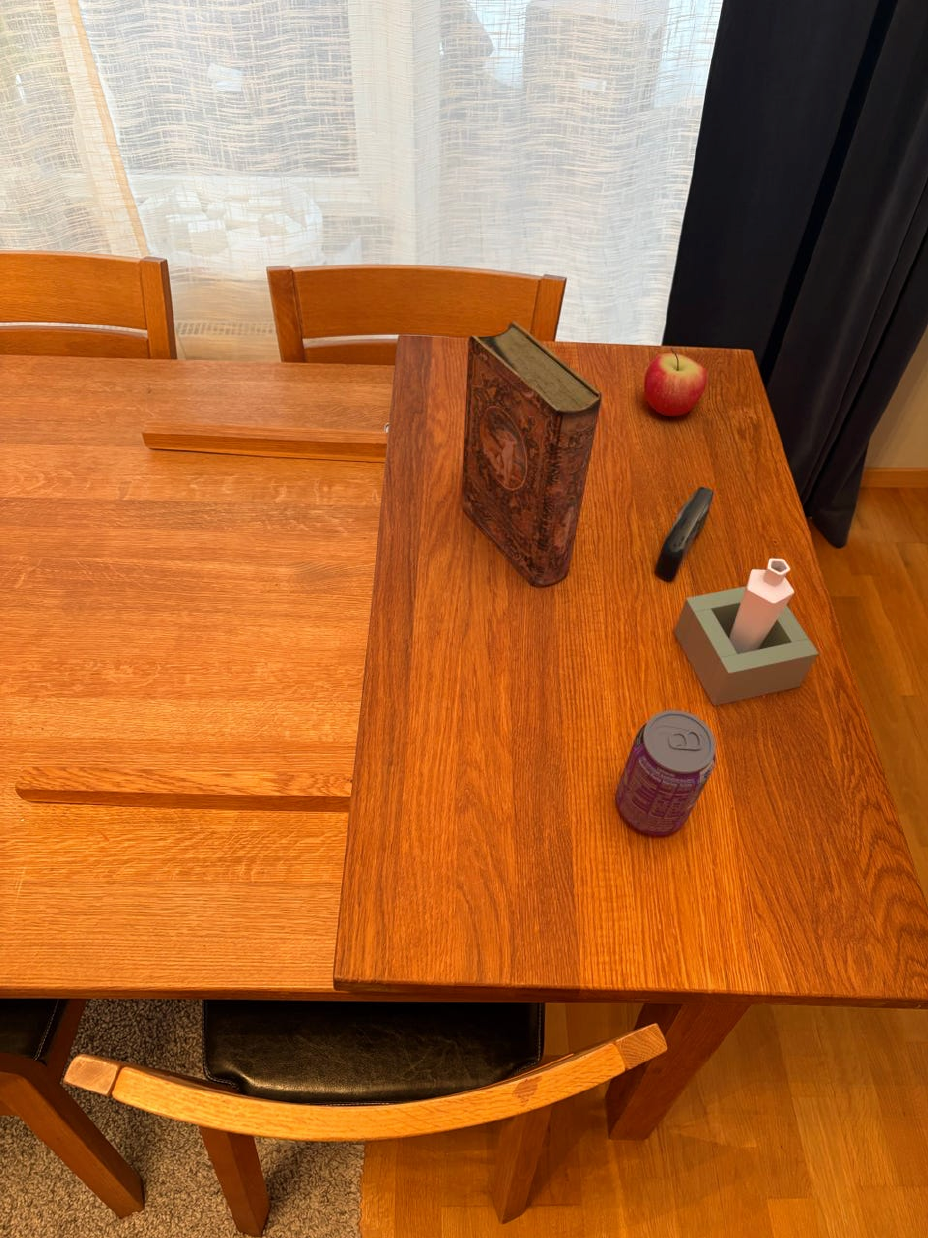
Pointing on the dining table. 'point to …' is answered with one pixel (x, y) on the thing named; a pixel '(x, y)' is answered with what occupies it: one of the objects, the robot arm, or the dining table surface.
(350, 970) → the dining table surface
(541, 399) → the book
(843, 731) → the dining table surface
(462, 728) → the dining table surface
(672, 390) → the apple
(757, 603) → the perfume bottle
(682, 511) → the mobile phone
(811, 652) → the holder
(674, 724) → the beverage can
